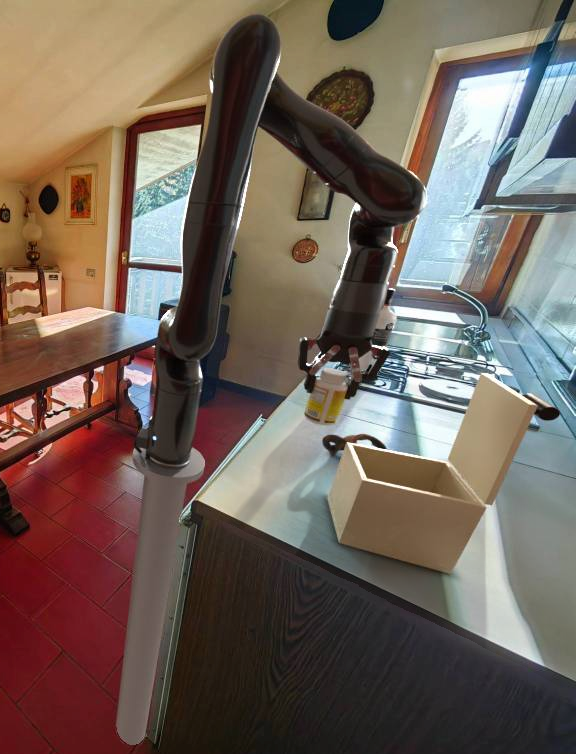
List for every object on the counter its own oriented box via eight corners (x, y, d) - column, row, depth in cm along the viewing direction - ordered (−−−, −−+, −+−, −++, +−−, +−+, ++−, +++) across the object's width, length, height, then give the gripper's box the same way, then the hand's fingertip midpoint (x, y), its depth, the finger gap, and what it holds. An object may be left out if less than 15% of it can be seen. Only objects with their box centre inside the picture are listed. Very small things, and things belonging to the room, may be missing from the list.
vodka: (365, 367, 147) (392, 286, 135) (385, 376, 138) (416, 291, 127) (342, 367, 146) (367, 286, 135) (360, 376, 138) (389, 291, 126)
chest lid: (529, 404, 49) (589, 411, 47) (480, 372, 60) (527, 376, 57) (484, 504, 55) (536, 514, 52) (447, 458, 65) (488, 465, 63)
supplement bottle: (335, 418, 77) (351, 370, 73) (336, 429, 73) (353, 379, 69) (303, 411, 80) (317, 364, 76) (302, 421, 76) (316, 372, 72)
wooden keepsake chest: (338, 543, 65) (362, 479, 60) (327, 498, 76) (346, 441, 71) (450, 574, 59) (486, 507, 55) (421, 521, 70) (449, 461, 65)
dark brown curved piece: (366, 455, 91) (392, 438, 84) (367, 490, 85) (395, 475, 79) (313, 435, 93) (334, 417, 87) (310, 467, 88) (333, 451, 81)
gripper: (398, 307, 68) (367, 395, 75) (305, 299, 74) (283, 381, 80) (413, 315, 62) (377, 410, 69) (310, 306, 67) (286, 394, 74)
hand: (327, 394), depth 74 cm, fingers closed on supplement bottle, 5 cm apart
